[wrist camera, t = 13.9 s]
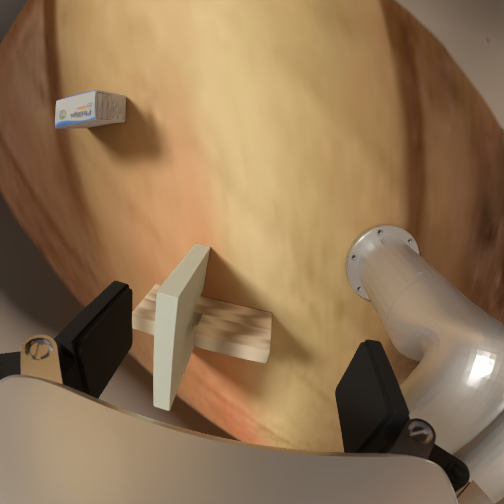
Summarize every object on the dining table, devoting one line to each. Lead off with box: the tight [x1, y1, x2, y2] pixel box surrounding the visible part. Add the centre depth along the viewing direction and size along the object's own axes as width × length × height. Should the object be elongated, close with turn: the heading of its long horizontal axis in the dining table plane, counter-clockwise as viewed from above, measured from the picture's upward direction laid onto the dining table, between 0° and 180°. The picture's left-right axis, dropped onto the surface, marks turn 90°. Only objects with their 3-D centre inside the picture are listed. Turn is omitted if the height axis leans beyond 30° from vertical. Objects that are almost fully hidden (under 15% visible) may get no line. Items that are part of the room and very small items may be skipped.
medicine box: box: [55, 90, 126, 128], centre depth 34 cm, size 8×4×9 cm, turn 87°
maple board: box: [132, 284, 272, 363], centre depth 43 cm, size 20×2×10 cm, turn 77°
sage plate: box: [153, 243, 210, 411], centre depth 40 cm, size 20×2×16 cm, turn 167°
